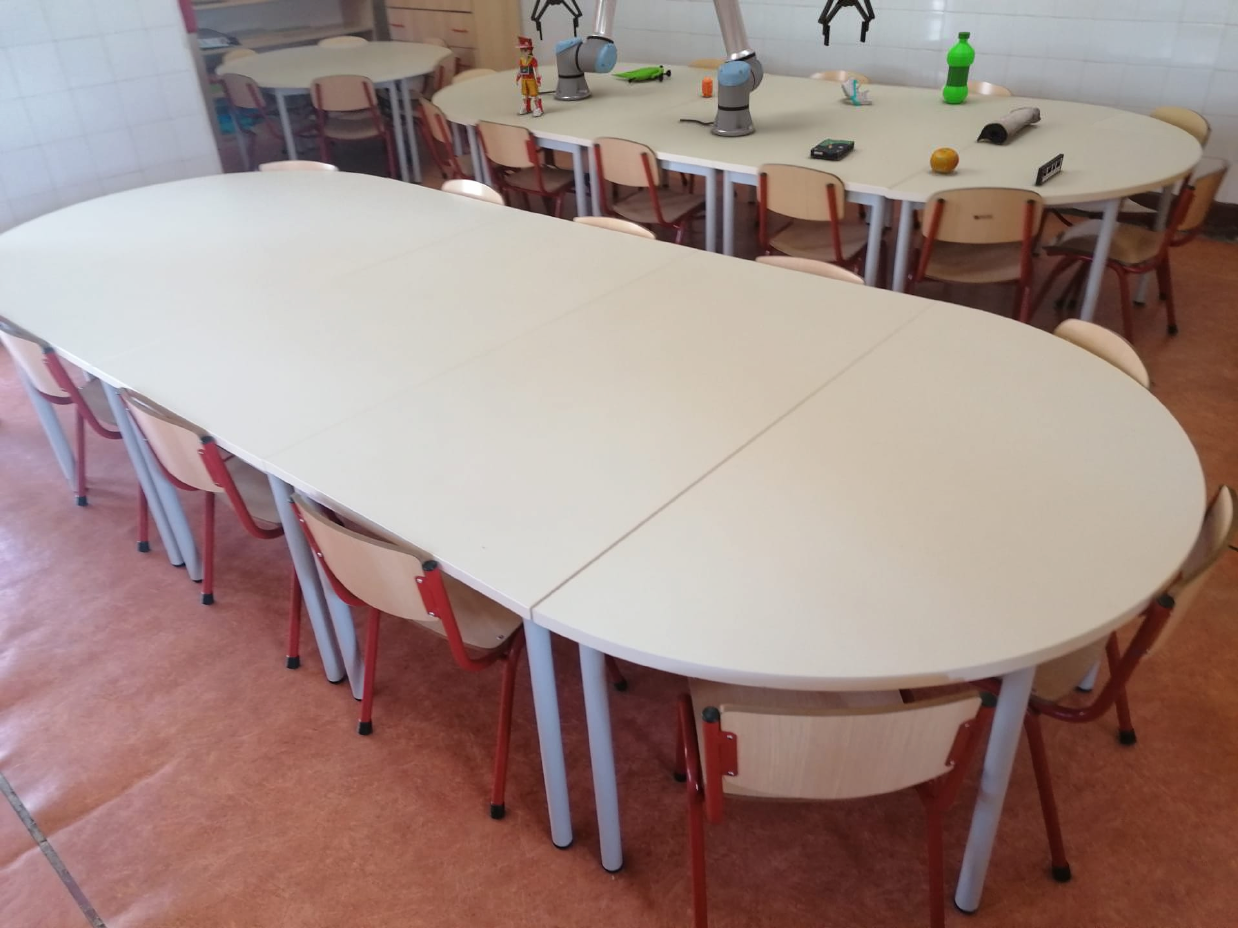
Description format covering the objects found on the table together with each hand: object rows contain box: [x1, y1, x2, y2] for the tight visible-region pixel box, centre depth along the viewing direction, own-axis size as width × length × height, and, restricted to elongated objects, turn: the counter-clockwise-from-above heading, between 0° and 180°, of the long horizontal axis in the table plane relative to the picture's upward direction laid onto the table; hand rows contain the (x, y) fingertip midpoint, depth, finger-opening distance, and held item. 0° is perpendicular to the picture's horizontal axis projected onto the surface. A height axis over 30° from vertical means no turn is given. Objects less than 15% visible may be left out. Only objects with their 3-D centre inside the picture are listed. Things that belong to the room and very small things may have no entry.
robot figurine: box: [701, 76, 714, 98], centre depth 382 cm, size 7×5×8 cm
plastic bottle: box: [942, 31, 976, 104], centre depth 348 cm, size 10×10×25 cm
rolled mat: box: [976, 106, 1042, 145], centre depth 314 cm, size 30×9×10 cm
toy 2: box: [611, 65, 672, 84], centre depth 420 cm, size 28×5×30 cm
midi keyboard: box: [1035, 153, 1065, 186], centre depth 273 cm, size 18×1×5 cm, turn 138°
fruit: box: [929, 147, 960, 174], centre depth 283 cm, size 8×8×8 cm
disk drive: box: [809, 138, 855, 161], centre depth 306 cm, size 10×3×15 cm
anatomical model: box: [841, 76, 874, 106], centre depth 361 cm, size 15×10×10 cm
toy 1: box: [514, 35, 544, 117], centre depth 366 cm, size 12×9×30 cm
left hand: (558, 38), depth 354 cm, fingers open, 13 cm apart
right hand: (844, 44), depth 317 cm, fingers open, 13 cm apart
